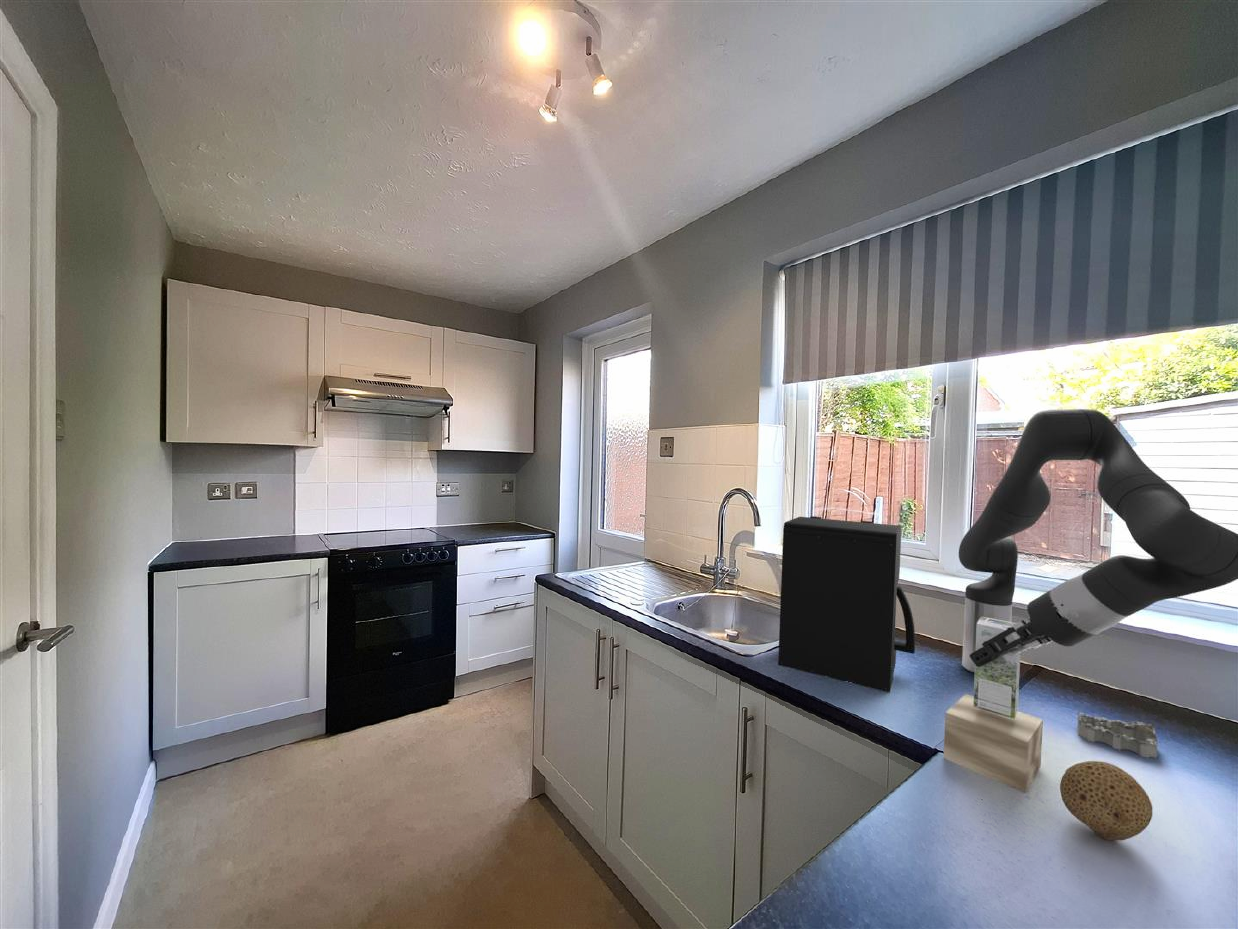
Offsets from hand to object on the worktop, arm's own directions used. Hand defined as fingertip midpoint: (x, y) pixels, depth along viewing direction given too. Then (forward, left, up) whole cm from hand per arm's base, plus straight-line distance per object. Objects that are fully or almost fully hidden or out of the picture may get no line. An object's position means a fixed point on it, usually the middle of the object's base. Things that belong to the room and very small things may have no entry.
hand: (987, 657), depth 85 cm
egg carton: (-29, +7, -18) cm, 34 cm away
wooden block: (0, +1, -17) cm, 17 cm away
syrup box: (0, +2, -8) cm, 8 cm away
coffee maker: (-10, -35, -17) cm, 41 cm away
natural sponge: (+5, +17, -17) cm, 25 cm away
